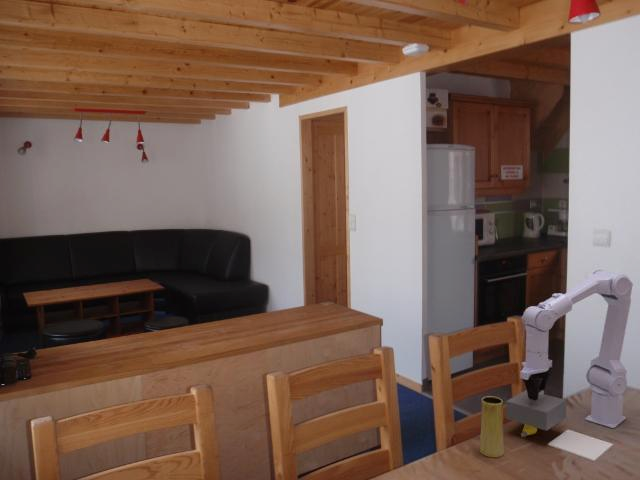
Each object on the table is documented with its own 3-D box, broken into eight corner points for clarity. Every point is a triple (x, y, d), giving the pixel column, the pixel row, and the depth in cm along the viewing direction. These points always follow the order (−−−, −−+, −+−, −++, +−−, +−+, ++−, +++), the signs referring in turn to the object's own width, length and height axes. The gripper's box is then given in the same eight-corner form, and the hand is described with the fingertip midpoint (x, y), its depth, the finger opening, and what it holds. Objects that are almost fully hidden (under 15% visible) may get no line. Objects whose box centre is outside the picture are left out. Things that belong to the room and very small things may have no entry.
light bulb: (538, 432, 154) (540, 423, 152) (526, 444, 151) (528, 435, 149) (527, 425, 156) (529, 416, 155) (515, 436, 153) (517, 428, 151)
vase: (505, 458, 140) (506, 405, 138) (480, 456, 141) (481, 404, 140) (502, 447, 146) (503, 396, 144) (478, 445, 147) (479, 394, 146)
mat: (567, 430, 154) (567, 429, 154) (613, 445, 146) (613, 444, 146) (547, 445, 147) (548, 443, 147) (594, 461, 138) (594, 460, 138)
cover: (526, 406, 161) (526, 379, 160) (566, 417, 152) (566, 389, 152) (506, 418, 153) (506, 390, 153) (546, 430, 145) (546, 401, 144)
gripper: (535, 341, 159) (534, 386, 160) (510, 352, 149) (509, 400, 150) (559, 346, 153) (558, 393, 155) (534, 358, 144) (533, 408, 145)
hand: (535, 397), depth 152 cm, fingers closed on cover, 3 cm apart
